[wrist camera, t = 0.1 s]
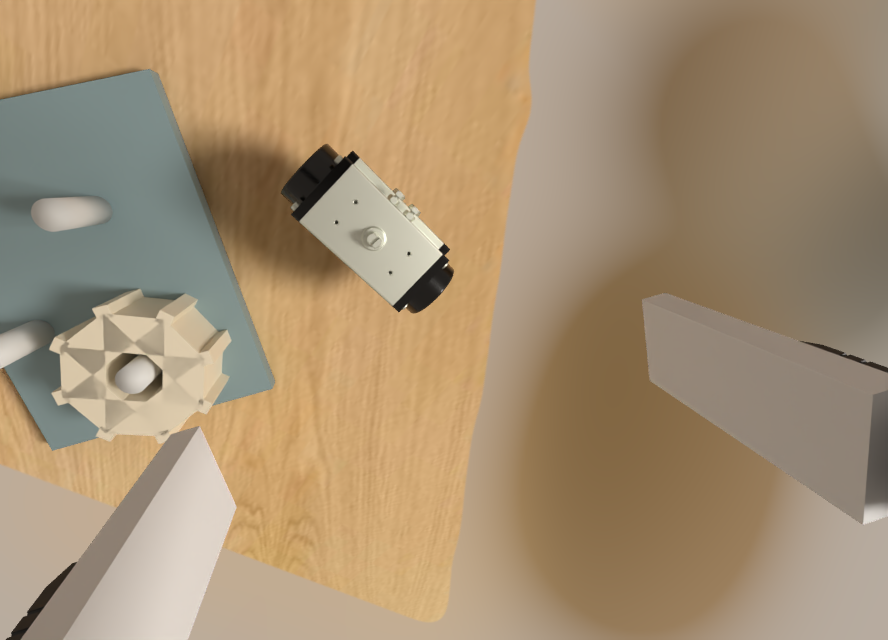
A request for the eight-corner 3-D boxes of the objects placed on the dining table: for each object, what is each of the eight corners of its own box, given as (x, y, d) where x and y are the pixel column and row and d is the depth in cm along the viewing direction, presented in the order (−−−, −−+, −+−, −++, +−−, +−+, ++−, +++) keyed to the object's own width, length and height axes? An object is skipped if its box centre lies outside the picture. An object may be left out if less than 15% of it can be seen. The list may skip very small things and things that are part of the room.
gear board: (-114, 130, 32) (-238, 116, 25) (158, 73, 33) (109, 47, 27) (63, 440, 39) (4, 493, 33) (275, 381, 41) (259, 419, 35)
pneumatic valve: (399, 290, 41) (416, 332, 30) (294, 192, 37) (267, 197, 26) (444, 245, 41) (478, 269, 29) (341, 141, 37) (335, 123, 25)
